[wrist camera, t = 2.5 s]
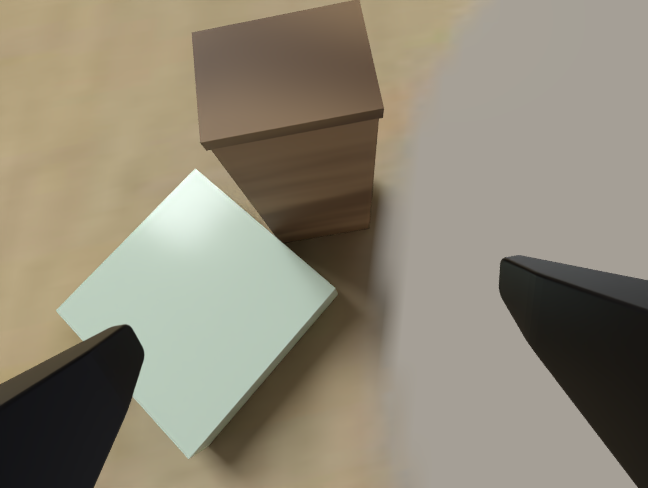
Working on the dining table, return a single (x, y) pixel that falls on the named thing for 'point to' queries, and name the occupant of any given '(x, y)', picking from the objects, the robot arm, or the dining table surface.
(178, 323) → the plate
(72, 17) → the dining table surface
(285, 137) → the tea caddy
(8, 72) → the dining table surface
